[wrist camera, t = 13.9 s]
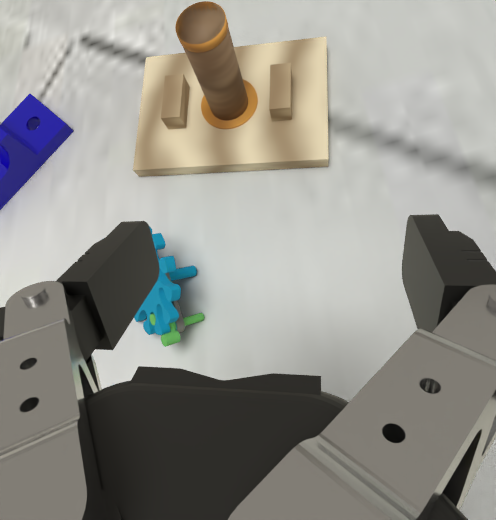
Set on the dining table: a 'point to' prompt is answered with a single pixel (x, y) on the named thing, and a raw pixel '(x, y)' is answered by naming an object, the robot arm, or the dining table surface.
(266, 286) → the dining table surface
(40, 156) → the mounting bracket
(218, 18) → the pin
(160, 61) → the plate
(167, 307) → the gear
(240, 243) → the dining table surface
